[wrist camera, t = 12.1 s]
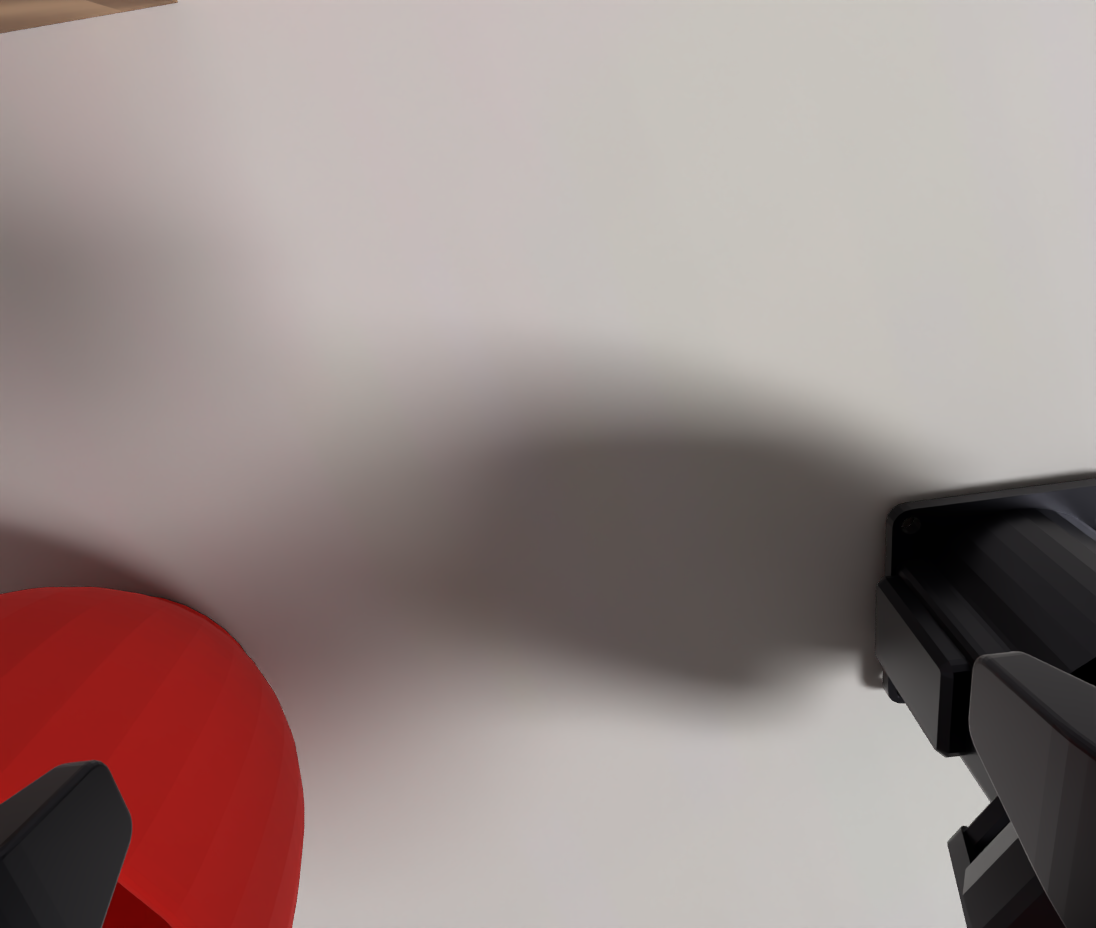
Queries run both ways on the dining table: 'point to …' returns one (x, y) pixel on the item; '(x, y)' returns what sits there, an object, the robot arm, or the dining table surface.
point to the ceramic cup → (159, 750)
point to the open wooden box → (63, 11)
